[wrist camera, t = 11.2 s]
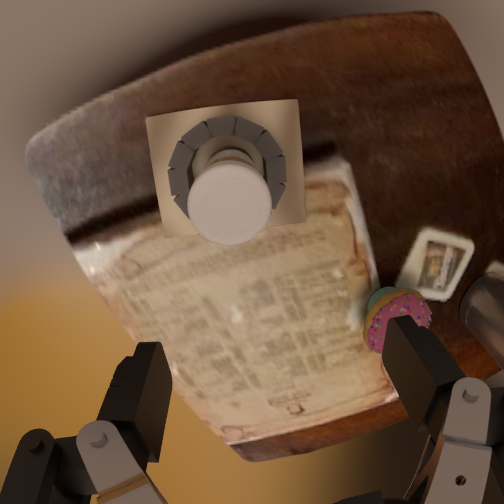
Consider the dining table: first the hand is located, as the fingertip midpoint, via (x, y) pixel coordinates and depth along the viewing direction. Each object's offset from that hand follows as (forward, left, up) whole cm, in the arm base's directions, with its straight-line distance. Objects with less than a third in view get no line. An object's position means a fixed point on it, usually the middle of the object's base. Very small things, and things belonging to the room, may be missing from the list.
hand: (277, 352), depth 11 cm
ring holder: (+2, -3, -23) cm, 23 cm away
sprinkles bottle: (+1, -3, -22) cm, 22 cm away
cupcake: (-15, +15, -23) cm, 31 cm away
